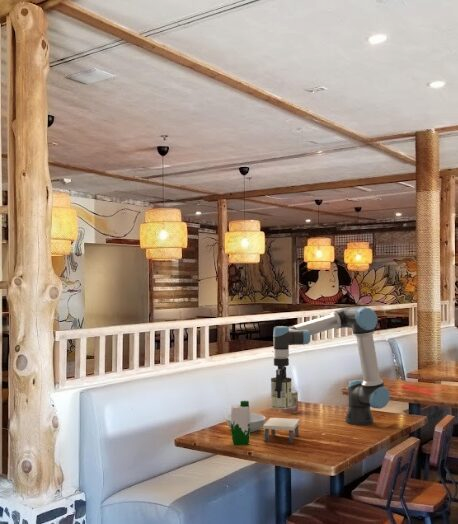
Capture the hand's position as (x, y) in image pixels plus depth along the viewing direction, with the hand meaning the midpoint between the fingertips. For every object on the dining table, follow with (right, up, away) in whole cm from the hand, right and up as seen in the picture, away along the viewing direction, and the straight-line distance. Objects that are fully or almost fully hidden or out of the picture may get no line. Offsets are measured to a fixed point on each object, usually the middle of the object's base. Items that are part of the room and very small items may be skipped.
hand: (281, 402), depth 302 cm
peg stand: (0, -18, -1) cm, 18 cm away
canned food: (+10, -20, +63) cm, 67 cm away
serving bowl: (-17, -19, +17) cm, 30 cm away
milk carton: (-21, -18, -9) cm, 29 cm away
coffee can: (0, -2, 0) cm, 2 cm away
